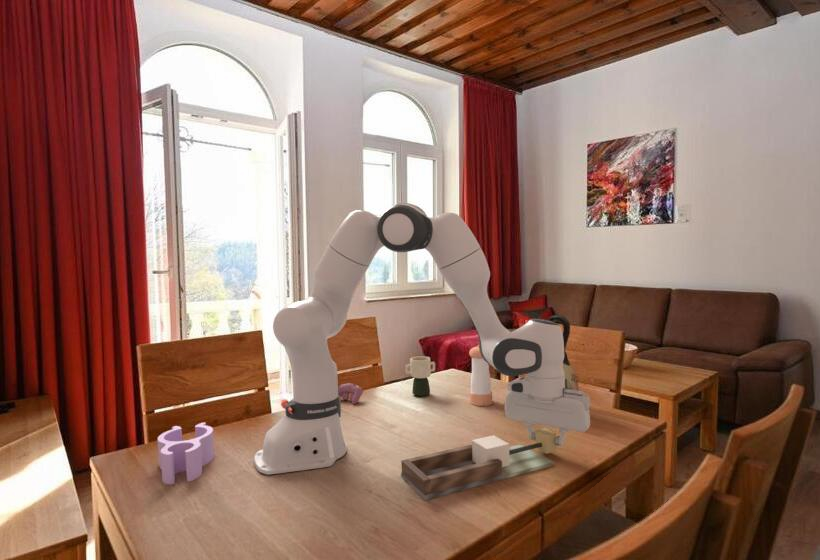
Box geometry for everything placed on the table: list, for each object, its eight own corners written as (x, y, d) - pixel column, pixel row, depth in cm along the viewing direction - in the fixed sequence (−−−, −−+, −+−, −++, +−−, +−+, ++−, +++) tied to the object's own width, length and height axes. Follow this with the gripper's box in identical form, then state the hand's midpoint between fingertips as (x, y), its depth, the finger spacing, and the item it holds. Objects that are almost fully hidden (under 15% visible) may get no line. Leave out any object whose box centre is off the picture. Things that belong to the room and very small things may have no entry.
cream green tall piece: (432, 390, 176) (431, 355, 175) (439, 395, 169) (438, 358, 169) (403, 394, 173) (402, 357, 172) (409, 399, 166) (408, 361, 165)
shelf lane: (425, 500, 98) (425, 481, 98) (401, 476, 109) (400, 459, 109) (553, 465, 112) (553, 449, 112) (520, 447, 123) (520, 432, 122)
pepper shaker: (475, 407, 156) (474, 347, 155) (466, 400, 163) (465, 343, 162) (496, 404, 158) (494, 345, 157) (486, 398, 165) (485, 342, 164)
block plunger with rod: (487, 471, 108) (486, 449, 107) (472, 461, 113) (471, 440, 113) (559, 452, 116) (558, 432, 116) (542, 444, 122) (542, 424, 121)
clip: (210, 478, 111) (208, 448, 111) (149, 488, 107) (147, 457, 107) (216, 446, 130) (215, 421, 130) (164, 453, 126) (163, 427, 126)
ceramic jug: (516, 412, 150) (514, 315, 148) (542, 400, 161) (540, 309, 159) (568, 424, 138) (567, 318, 136) (592, 411, 149) (591, 313, 147)
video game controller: (361, 406, 165) (366, 386, 167) (353, 404, 161) (358, 383, 164) (338, 403, 170) (343, 383, 173) (330, 400, 167) (335, 380, 169)
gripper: (593, 388, 114) (594, 446, 115) (512, 377, 126) (512, 430, 127) (585, 395, 109) (586, 456, 110) (501, 383, 121) (502, 438, 122)
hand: (546, 442), depth 119 cm, fingers open, 5 cm apart
